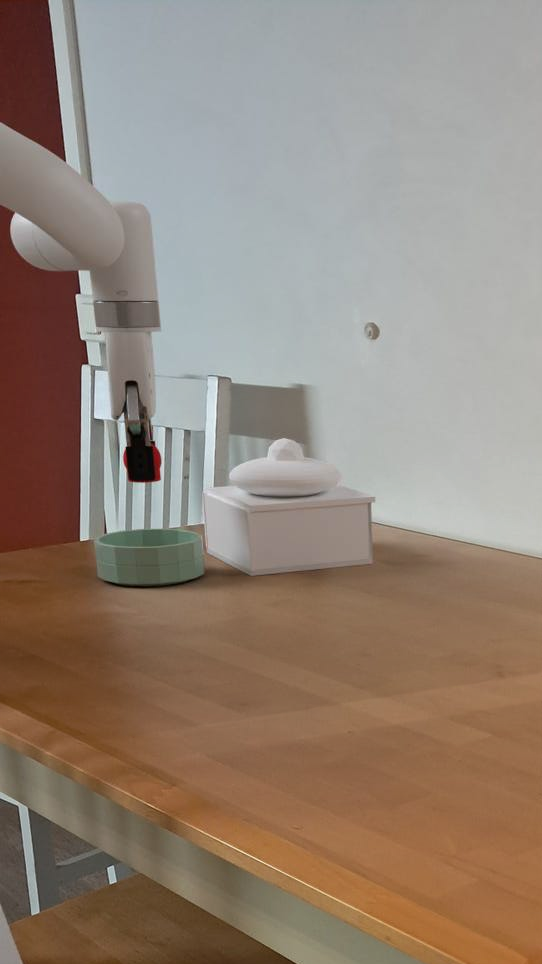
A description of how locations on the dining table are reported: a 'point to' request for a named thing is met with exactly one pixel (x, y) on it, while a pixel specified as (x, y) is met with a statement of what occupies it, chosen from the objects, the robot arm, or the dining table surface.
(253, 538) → the white lidded box
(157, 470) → the strawberry
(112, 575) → the dessert bowl
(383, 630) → the dining table surface
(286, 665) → the dining table surface
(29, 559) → the dining table surface
